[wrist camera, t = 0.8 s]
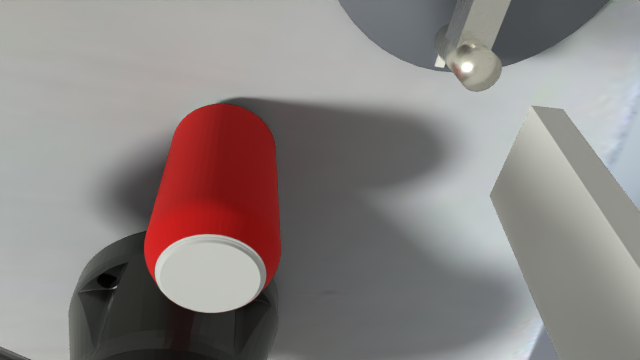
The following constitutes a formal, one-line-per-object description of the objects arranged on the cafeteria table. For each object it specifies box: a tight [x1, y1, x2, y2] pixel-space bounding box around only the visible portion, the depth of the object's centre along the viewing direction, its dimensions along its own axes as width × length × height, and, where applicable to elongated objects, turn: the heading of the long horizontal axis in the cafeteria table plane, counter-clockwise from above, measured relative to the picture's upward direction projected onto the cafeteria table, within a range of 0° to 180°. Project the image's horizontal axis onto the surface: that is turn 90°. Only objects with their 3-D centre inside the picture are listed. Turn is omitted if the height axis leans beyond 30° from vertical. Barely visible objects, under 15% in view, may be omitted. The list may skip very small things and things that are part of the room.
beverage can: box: [144, 104, 281, 313], centre depth 27 cm, size 6×6×12 cm
